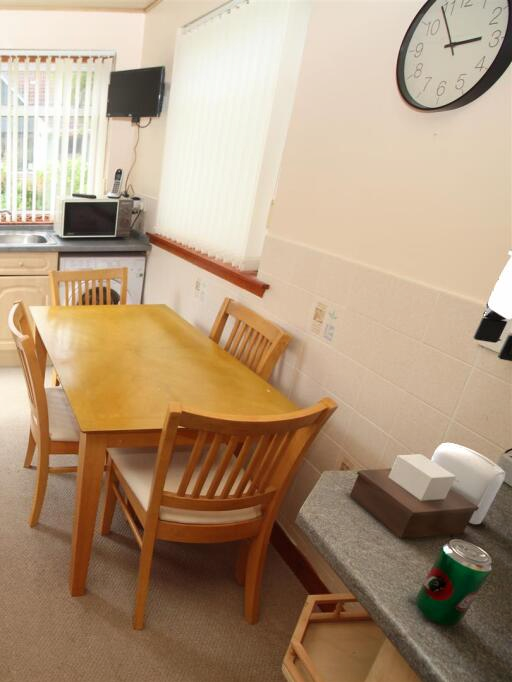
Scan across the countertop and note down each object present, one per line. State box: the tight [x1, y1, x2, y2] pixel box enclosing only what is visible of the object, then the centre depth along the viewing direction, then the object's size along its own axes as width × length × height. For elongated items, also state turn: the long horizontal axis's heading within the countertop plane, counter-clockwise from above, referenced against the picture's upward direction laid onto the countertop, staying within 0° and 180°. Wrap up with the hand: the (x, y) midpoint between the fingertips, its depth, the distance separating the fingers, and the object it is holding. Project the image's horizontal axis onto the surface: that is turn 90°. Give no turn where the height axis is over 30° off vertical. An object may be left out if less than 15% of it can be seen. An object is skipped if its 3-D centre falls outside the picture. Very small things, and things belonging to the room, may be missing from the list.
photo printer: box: [430, 442, 507, 525], centre depth 89 cm, size 10×4×12 cm, turn 14°
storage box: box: [349, 467, 479, 539], centre depth 88 cm, size 13×11×6 cm
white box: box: [389, 453, 456, 501], centre depth 86 cm, size 5×6×5 cm
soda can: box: [414, 539, 493, 627], centre depth 67 cm, size 5×5×12 cm
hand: (497, 350), depth 80 cm, fingers open, 9 cm apart
